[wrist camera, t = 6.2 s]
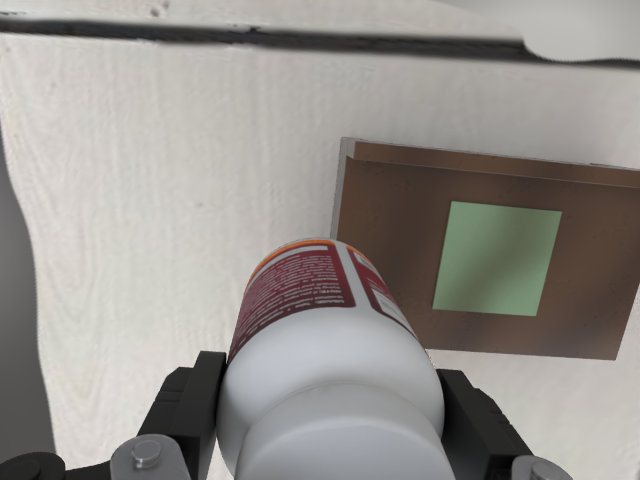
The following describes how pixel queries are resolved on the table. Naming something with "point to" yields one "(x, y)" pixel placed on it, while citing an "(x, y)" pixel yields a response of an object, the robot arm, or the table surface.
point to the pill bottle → (327, 376)
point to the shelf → (495, 246)
